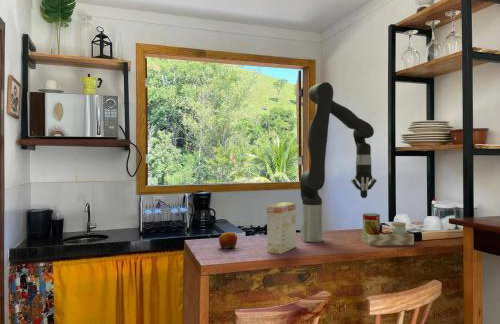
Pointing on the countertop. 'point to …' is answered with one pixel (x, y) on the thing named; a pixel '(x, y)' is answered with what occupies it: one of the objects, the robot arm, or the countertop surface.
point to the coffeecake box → (281, 227)
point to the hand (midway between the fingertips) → (363, 197)
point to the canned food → (371, 223)
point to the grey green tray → (388, 239)
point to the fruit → (228, 240)
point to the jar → (399, 228)
